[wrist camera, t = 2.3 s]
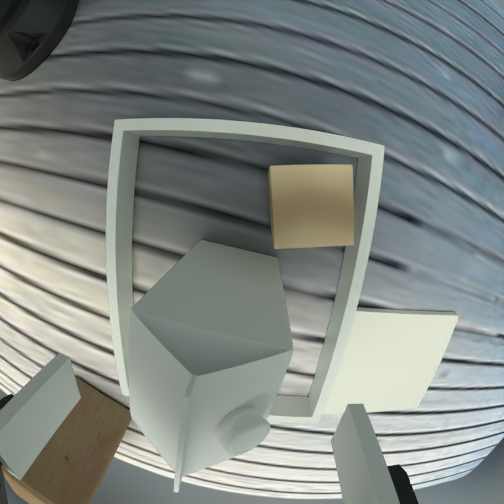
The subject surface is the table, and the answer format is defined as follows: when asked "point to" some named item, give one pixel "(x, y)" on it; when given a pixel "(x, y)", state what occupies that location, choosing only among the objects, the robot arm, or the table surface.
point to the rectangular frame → (366, 152)
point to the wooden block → (75, 452)
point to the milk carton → (208, 356)
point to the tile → (390, 358)
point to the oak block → (311, 205)
